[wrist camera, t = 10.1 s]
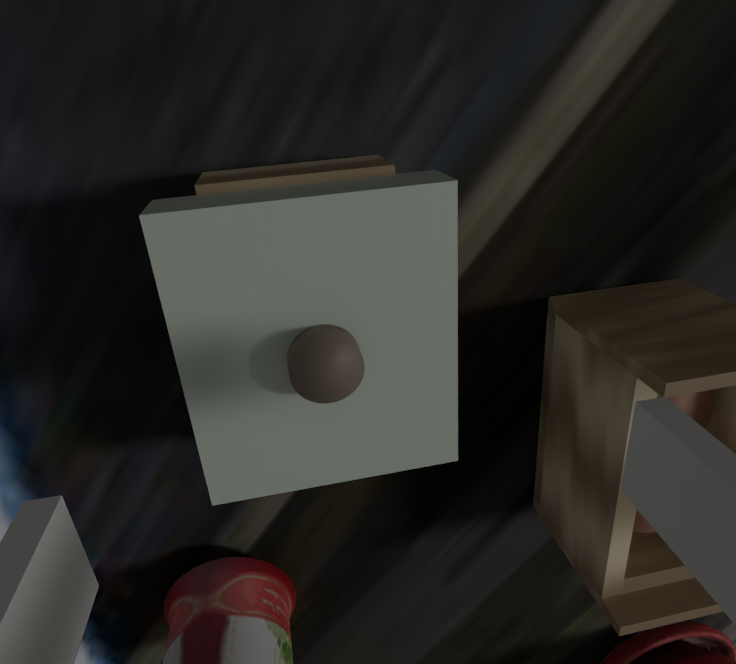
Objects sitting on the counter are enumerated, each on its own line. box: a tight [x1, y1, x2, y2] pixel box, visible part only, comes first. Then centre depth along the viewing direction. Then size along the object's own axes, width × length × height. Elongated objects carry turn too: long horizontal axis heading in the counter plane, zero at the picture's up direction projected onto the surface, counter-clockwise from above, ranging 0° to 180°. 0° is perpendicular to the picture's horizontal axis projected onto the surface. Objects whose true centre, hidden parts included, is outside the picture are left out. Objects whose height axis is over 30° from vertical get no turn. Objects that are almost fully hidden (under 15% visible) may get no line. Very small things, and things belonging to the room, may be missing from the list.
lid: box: [139, 170, 458, 506], centre depth 20 cm, size 11×10×3 cm
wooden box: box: [533, 278, 736, 636], centre depth 26 cm, size 13×7×8 cm, turn 4°
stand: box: [195, 155, 395, 195], centre depth 23 cm, size 12×7×3 cm, turn 4°
